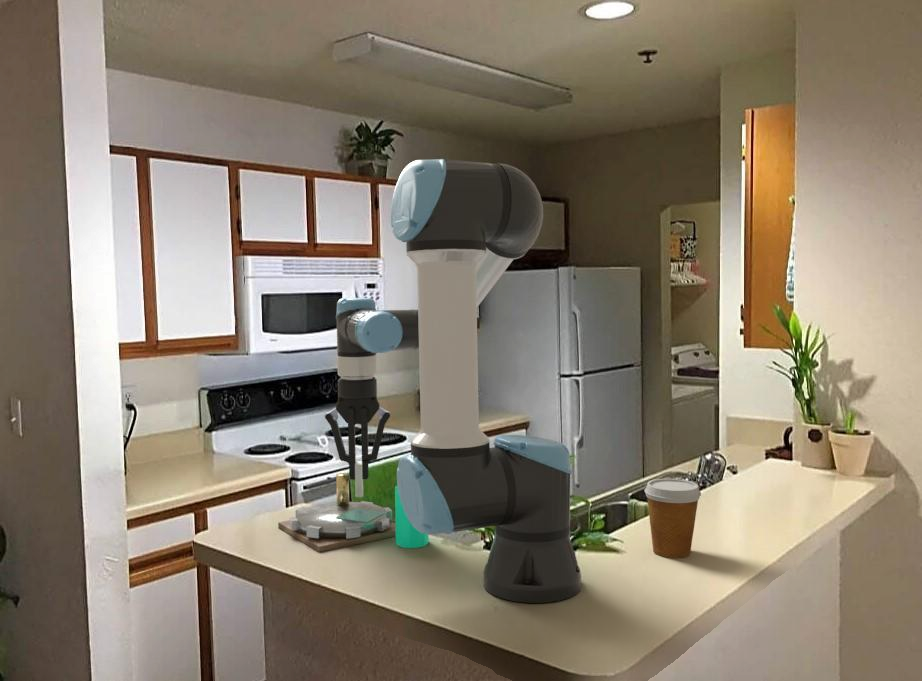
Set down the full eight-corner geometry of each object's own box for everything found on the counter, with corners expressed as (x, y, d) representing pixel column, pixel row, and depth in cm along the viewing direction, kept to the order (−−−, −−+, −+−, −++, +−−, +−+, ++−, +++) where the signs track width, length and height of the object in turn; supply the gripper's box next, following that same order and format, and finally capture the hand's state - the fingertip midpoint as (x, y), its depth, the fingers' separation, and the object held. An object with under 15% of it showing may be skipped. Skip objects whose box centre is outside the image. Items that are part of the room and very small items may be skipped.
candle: (430, 538, 154) (430, 474, 153) (425, 548, 148) (425, 481, 147) (398, 537, 154) (397, 473, 153) (392, 547, 148) (391, 481, 147)
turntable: (410, 516, 163) (409, 476, 162) (358, 544, 146) (358, 499, 145) (327, 505, 171) (326, 467, 170) (269, 531, 153) (268, 488, 153)
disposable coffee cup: (702, 563, 140) (703, 492, 139) (644, 559, 141) (645, 490, 141) (697, 545, 149) (698, 479, 148) (643, 542, 151) (644, 477, 150)
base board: (406, 533, 156) (406, 528, 156) (319, 552, 146) (319, 546, 146) (361, 512, 171) (361, 507, 171) (278, 527, 161) (278, 522, 160)
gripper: (390, 373, 167) (392, 489, 169) (325, 374, 166) (327, 491, 168) (390, 378, 159) (392, 499, 161) (322, 380, 158) (324, 501, 160)
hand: (359, 495), depth 165 cm, fingers closed
